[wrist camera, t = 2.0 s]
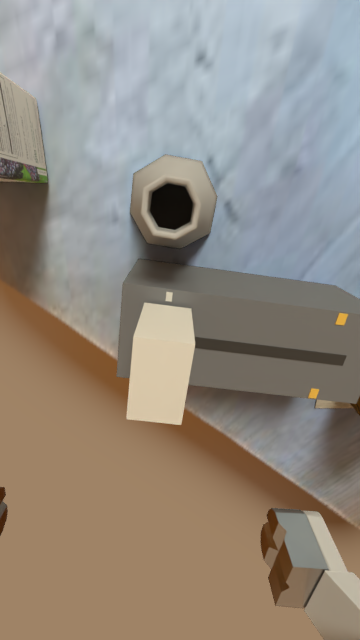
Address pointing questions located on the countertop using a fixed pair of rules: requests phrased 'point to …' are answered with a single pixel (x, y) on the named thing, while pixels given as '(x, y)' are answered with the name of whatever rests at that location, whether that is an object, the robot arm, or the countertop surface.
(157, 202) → the flask
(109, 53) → the countertop surface
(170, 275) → the console
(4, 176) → the syrup box
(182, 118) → the countertop surface
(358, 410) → the condiment
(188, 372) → the fader
